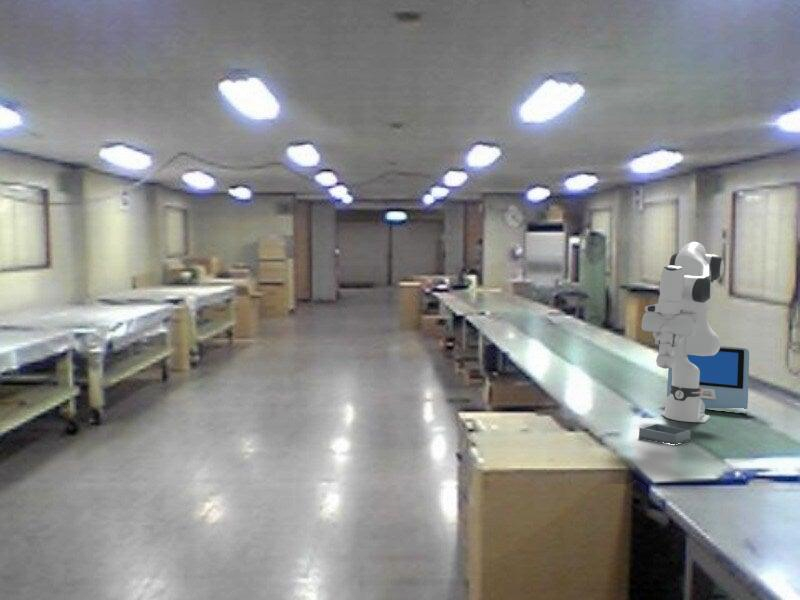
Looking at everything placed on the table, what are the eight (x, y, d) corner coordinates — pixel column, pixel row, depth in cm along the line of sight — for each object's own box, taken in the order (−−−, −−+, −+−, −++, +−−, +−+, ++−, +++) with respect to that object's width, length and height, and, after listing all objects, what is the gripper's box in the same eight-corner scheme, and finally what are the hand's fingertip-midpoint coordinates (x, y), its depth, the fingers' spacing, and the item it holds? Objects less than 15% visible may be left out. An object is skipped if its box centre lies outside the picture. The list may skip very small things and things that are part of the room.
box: (654, 433, 308) (655, 423, 308) (689, 440, 299) (690, 430, 298) (638, 438, 297) (639, 428, 297) (675, 446, 288) (676, 435, 288)
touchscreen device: (666, 407, 370) (671, 343, 369) (665, 401, 389) (669, 341, 388) (747, 415, 360) (752, 349, 359) (742, 409, 379) (746, 347, 378)
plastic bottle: (659, 366, 302) (663, 314, 302) (677, 369, 298) (681, 316, 297) (652, 367, 298) (657, 314, 297) (670, 370, 293) (675, 316, 292)
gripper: (701, 311, 292) (697, 348, 293) (648, 306, 306) (645, 342, 306) (694, 311, 287) (691, 349, 288) (641, 306, 301) (638, 342, 302)
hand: (667, 345), depth 297 cm, fingers closed on plastic bottle, 6 cm apart
